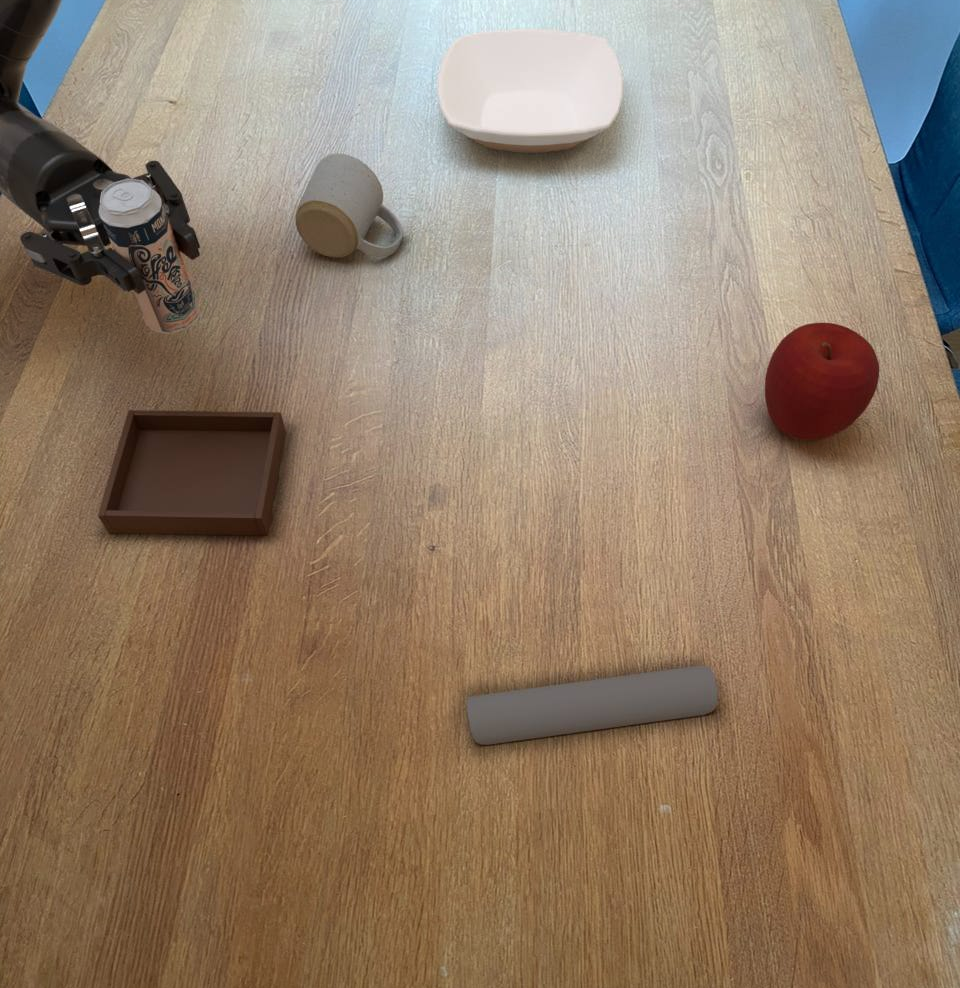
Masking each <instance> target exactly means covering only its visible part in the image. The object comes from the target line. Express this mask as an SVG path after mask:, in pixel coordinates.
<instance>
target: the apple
mask: <svg viewBox="0 0 960 988" xmlns="http://www.w3.org/2000/svg"><path fill="white" fill-rule="evenodd" d="M764 379H765V382H764V401H765V404H766V410H767V414H768V415H769V418H770V420H771V422H772V424H773V425H774V426H775V427H776V429H777V430H778V431H779V432H781V433H782V434H784V435H785V436H788V437H789V438H792V439H796V440H799V441H818V440H819V441H820V440H825V439H827V438H830V437H832V436H835V435H838V434H839V433H842V432H843V431H845V430H846V429H847V428H849V427H850V426H852V425H853V424H854V423H855V422H856V421H857V420H858V419H859V418H860V417H861V416H862V414H863V413H864V412H865V411H866V409H867V408H868V406H869V405H870V403H871V402H872V400H873V398H874V396H875V393H876V391H877V388H878V384H879V379H880V363H879V360H878V357H877V353H876V351H875V348H874V347H873V346H872V344H871V343H870V342H869V341H868V340H867V339H866V338H865V337H864V336H862V335H861V334H859V333H858V332H856V331H855V330H853V329H851V328H849V327H846V326H844V325H841V324H839V323H832V322H813V323H806V324H804V325H801V326H798V327H797V328H794V329H793V330H792V331H790V332H789V333H788V334H786V336H785V337H783V338H782V339H781V340H780V342H779V343H778V345H777V346H776V347H775V349H774V351H773V352H772V354H771V357H770V359H769V362H768V365H767V368H766V373H765V378H764Z"/></svg>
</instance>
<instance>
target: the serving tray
mask: <svg viewBox="0 0 960 988" xmlns="http://www.w3.org/2000/svg"><path fill="white" fill-rule="evenodd" d="M286 432H287V431H286V427H285V424H284V419H283V416H282V412H280V411H274V412H273V411H218V410H217V411H216V410H215V411H212V410H151V409H150V410H149V409H148V410H147V409H145V410H142V409H141V410H140V409H135V410H134V409H128V411H127V414H126V417H125V421H124V425H123V427H122V431H121V435H120V438H119V442H118V445H117V449H116V452H115V455H114V458H113V462H112V465H111V469H110V472H109V475H108V479H107V483H106V486H105V489H104V492H103V497H102V500H101V504H100V506H99V510H98V514H97V516H98V518H99V520H100V521H101V523H102V525H103V527H104V528H105V530H106V532H107V533H108V534H142V535H143V534H144V535H145V534H150V535H200V536H202V535H204V536H207V535H208V536H259V537H260V536H261V537H262V536H263V537H266V536H267V537H268V534H269V528H270V523H271V517H272V513H273V506H274V501H275V494H276V489H277V484H278V483H277V482H278V477H279V472H280V466H281V462H282V461H281V459H282V454H283V449H284V444H285V438H286Z"/></svg>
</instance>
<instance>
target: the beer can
mask: <svg viewBox="0 0 960 988" xmlns="http://www.w3.org/2000/svg"><path fill="white" fill-rule="evenodd" d="M99 216H100V218H101V221H102V223H103V225H104V228H105V230H106V232H107V235H108V237H109V239H110V242H111V246H112V249H113V250H114V251H116V252H117V253H118V254H119V255H121V256H122V257H123V258H125V259H126V260H127V261H128V262H130V263H131V264H132V265H134V266H135V267H136V268H137V270H138V271H139V273H140V275H141V277H142V280H143V282H144V285H145V287H146V290H144V291H143V292H141V293H140V294H137V293H136V292H135V291H133V290H131V291H130V292H131V293H132V295H133V298H134V300H135V302H136V305H137V307H138V310H139V312H140V314H141V317H142V319H143V321H144V323H145V325H146V326H147V328H149V329H150V330H152V331H153V332H156V333H159V334H166V335H167V334H168V335H173V334H176V333H180V332H183V331H185V330H188V329H189V328H191V327H192V326H193V325H194V324H195V323H196V322H197V321H198V319H199V316H200V314H201V307H200V304H199V301H198V298H197V296H196V293H195V289H194V286H193V284H192V282H191V279H190V276H189V273H188V271H187V268H186V264H185V262H184V259H183V256H182V252H180V250H179V248H178V245H177V242H176V239H175V236H174V234H173V231H172V228H171V225H170V222H169V220H168V217H167V214H166V211H165V208H164V206H163V203H162V200H161V198H160V196H159V195H158V193H157V192H156V191H154V190H152V188H151V187H150V186H149V185H148V184H146V183H145V182H144V181H143V180H135V179H125V180H121V181H117V182H114V183H112V184H110V185H109V186H108V187H107V188H106V189H104V190H103V191H102V192H101V198H100V206H99Z"/></svg>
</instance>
